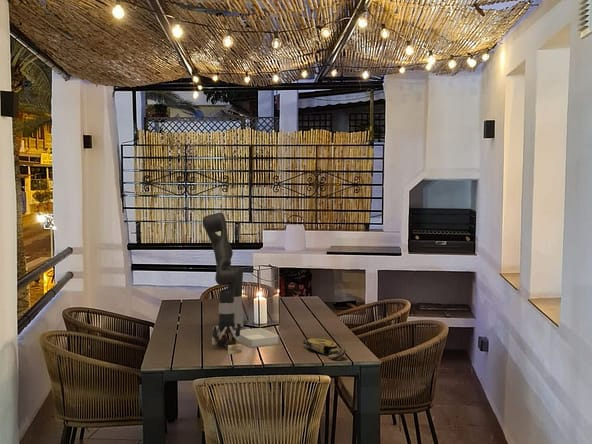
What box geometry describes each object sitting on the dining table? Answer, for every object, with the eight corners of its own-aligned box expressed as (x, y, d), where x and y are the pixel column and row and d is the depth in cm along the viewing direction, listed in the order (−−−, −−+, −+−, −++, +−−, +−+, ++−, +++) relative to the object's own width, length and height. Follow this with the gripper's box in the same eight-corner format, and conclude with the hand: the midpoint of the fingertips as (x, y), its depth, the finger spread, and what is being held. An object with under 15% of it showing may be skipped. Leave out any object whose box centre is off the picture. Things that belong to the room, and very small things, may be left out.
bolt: (232, 355, 283) (219, 347, 296) (240, 349, 285) (228, 341, 298) (226, 345, 281) (214, 337, 294) (235, 339, 283) (222, 331, 296)
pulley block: (327, 348, 265) (301, 333, 293) (325, 361, 265) (299, 345, 293) (355, 350, 270) (327, 335, 298) (353, 363, 270) (325, 347, 298)
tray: (260, 335, 315) (260, 327, 314) (279, 344, 297) (279, 336, 297) (232, 338, 307) (232, 331, 307) (250, 348, 289) (250, 339, 289)
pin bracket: (223, 342, 299) (223, 335, 299) (241, 352, 281) (241, 345, 281) (212, 344, 296) (212, 336, 296) (229, 354, 278) (229, 346, 278)
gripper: (237, 309, 295) (237, 342, 295) (209, 311, 287) (209, 346, 288) (243, 311, 288) (243, 346, 289) (215, 314, 281) (215, 350, 282)
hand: (226, 346), depth 289 cm, fingers open, 6 cm apart
